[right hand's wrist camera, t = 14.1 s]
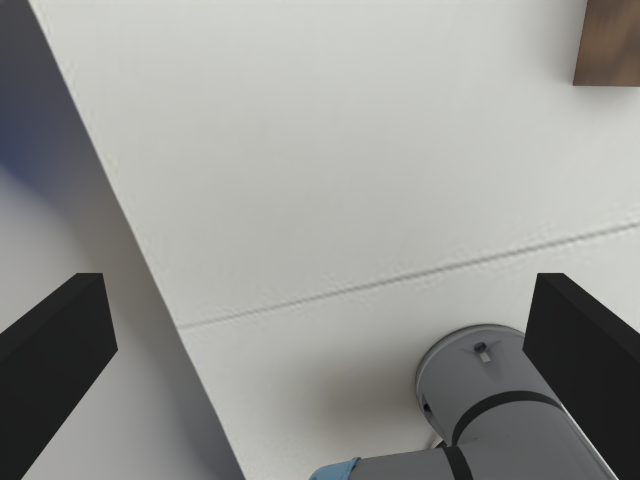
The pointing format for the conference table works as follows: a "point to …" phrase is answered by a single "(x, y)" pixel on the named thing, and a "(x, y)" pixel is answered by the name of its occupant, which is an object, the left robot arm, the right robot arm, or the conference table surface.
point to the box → (610, 44)
